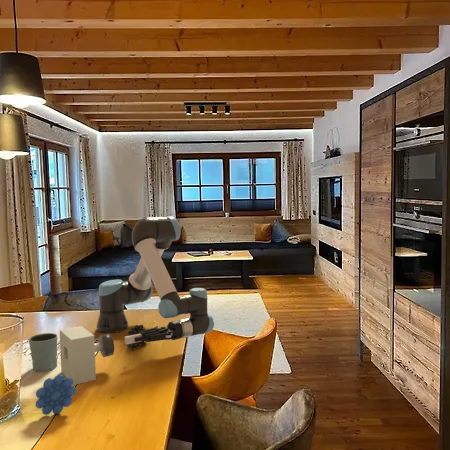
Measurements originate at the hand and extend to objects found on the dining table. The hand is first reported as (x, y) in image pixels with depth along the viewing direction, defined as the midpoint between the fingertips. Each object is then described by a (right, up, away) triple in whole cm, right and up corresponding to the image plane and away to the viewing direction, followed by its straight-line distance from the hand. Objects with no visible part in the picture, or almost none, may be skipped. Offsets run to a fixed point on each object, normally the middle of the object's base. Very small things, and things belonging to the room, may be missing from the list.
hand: (125, 340), depth 178 cm
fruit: (-1, -8, +22) cm, 23 cm away
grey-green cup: (-31, -10, -1) cm, 32 cm away
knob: (-9, -5, -6) cm, 12 cm away
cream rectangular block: (-15, -10, -10) cm, 21 cm away
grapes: (-12, -12, -38) cm, 42 cm away
